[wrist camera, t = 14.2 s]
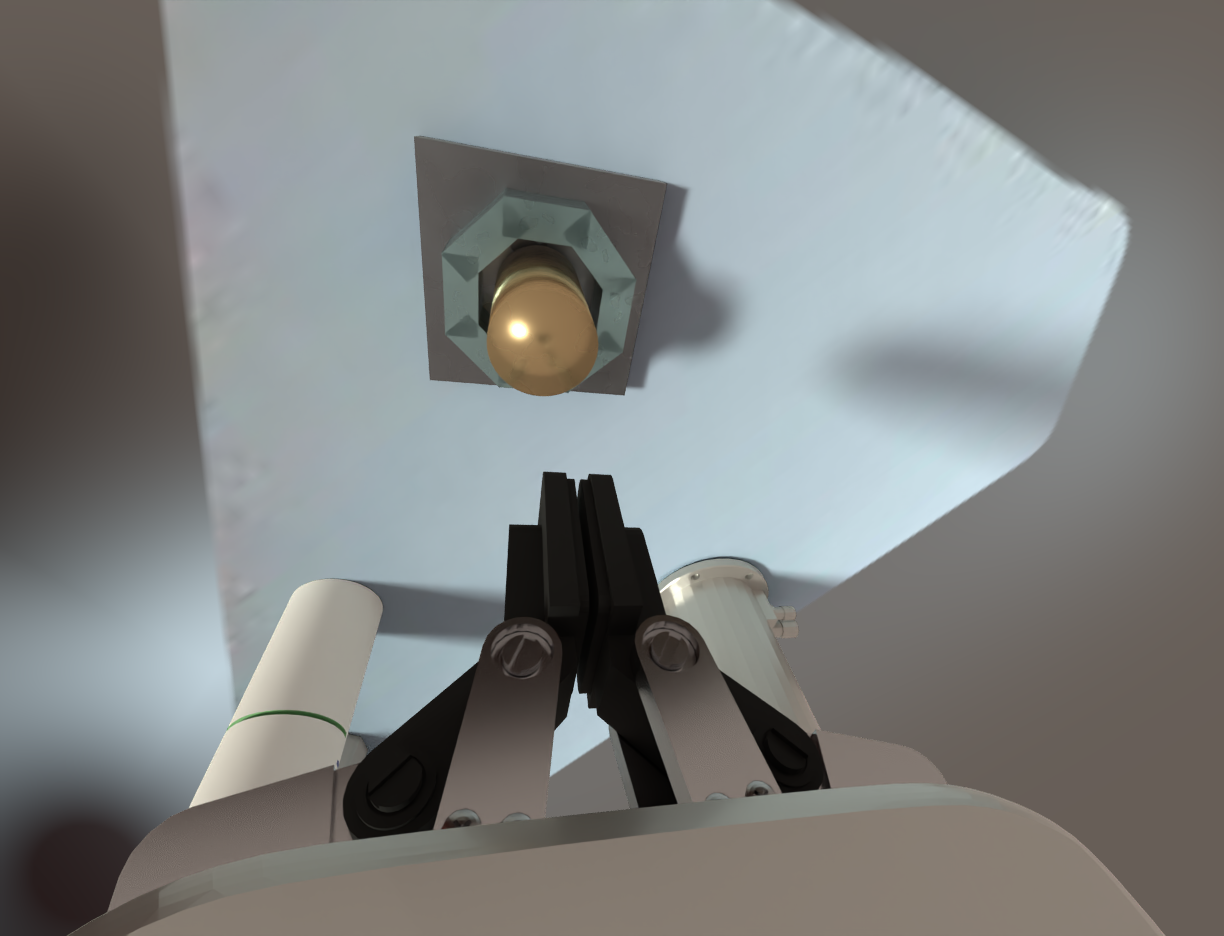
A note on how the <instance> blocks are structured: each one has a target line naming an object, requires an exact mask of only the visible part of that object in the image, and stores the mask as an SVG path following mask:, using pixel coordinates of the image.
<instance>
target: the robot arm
mask: <svg viewBox="0 0 1224 936" xmlns="http://www.w3.org/2000/svg"><path fill="white" fill-rule="evenodd" d="M768 591H769V590H768V586H767V583H766V581H765V579H764V577H763V575H762V573H761V572H760V571H759V570H758V569H757V568H756V567H754V566H753V565H751V564H749V563H747V562H744V561H741V560H735V559H711V560H705V561H701V562H697V563H693V564H691V565H688V566H686V567H683V568H681V569H679V570H678V571H676V572H674V573H672V574H671V575H669V576H668V577H667V578H665V579H664V580H663V581H661V582H660V583H659V584H657V580H656V577H655V573H654V570H653V566H652V563H651V559H650V556H649V552H648V549H647V545H646V542H645V538H644V535H643V532H642V530H641V529H640V528H628V527H624V523H623V519H622V515H621V511H620V507H619V503H618V499H617V494H616V490H615V486H614V482H613V478H612V476H611V475H600V474H589V476H588V479H587V480H583V479H581V480H580V483H579V489H578V496H577V495H576V487H575V480H574V479H567V476H566V473H559V472H543V478H542V488H541V498H540V509H539V519H538V525H510V524H509V541H508V560H507V578H506V597H505V615H504V622H502V623H501V624H499V625H497V626H496V627H495V628H494V629H493V630H492V631H491V632H490V633H489V634H488V635H487V638H486V640H485V642H484V644H483V647H482V650H481V654H480V658H479V661H478V662H477V663H476V664H475V665H474V666H472V667H471V668H470V669H469V670H468V671H467V672H465V673H464V674H463V675H462V676H461V677H459V678H458V679H457V680H456V681H455V682H453V683H452V684H451V685H450V686H449V687H447V688H446V689H445V690H444V691H443V692H441V693H440V694H439V695H438V696H437V697H436V698H434V699H433V700H432V701H431V702H430V703H428V704H427V705H426V706H425V707H424V708H422V709H421V710H420V711H419V712H418V713H416V714H415V715H414V716H413V717H412V718H410V719H409V720H408V721H407V722H406V723H404V724H403V725H402V726H401V727H400V728H399V729H397V730H396V731H395V732H394V733H393V734H391V735H390V736H389V737H388V738H387V739H385V740H384V741H383V742H382V743H381V744H379V745H378V746H377V747H376V748H375V749H373V750H372V751H371V752H370V753H369V754H368V755H367V756H366V757H365V758H364V759H363V760H362V761H361V762H360V763H357V764H353V765H350V766H347V767H343V768H340V769H337V770H336V769H335V766H334V765H332V766H328V767H325V768H322V769H318V770H315V771H312V772H308V773H305V774H301V775H298V776H295V777H291V778H288V779H285V780H281V781H278V782H274V783H271V784H268V785H264V786H261V787H258V788H254V789H251V790H248V791H244V792H241V793H237V794H234V795H231V796H227V797H224V798H221V799H217V800H214V801H210V802H207V803H204V804H200V805H197V806H194V807H191V808H189V809H187V810H184V811H182V812H180V813H178V814H176V815H173V816H171V817H170V818H168V819H167V820H166V821H164V822H163V823H162V824H161V825H159V826H158V827H156V828H155V829H154V830H152V831H151V832H150V833H149V834H148V835H147V836H146V837H145V838H144V839H143V841H142V842H141V843H140V844H139V845H138V846H137V847H136V849H135V850H134V851H133V852H132V853H131V855H130V857H129V858H128V860H127V862H126V864H125V866H124V868H123V870H122V872H121V874H120V876H119V879H118V882H117V885H116V888H115V891H114V894H113V897H112V900H111V903H110V906H109V909H108V912H107V913H106V914H104V915H102V916H100V917H98V918H96V919H94V920H92V921H91V922H89V923H87V924H86V925H84V926H82V927H81V928H79V929H78V930H76V931H74V932H73V933H71V934H69V935H68V936H1165V935H1164V934H1163V932H1162V931H1161V930H1160V929H1159V928H1158V926H1157V925H1156V924H1155V923H1154V921H1153V920H1152V919H1151V918H1150V917H1149V916H1148V914H1147V913H1146V912H1145V911H1144V910H1143V909H1142V907H1141V906H1140V905H1139V904H1138V903H1137V902H1136V900H1135V899H1134V898H1133V897H1132V896H1131V895H1130V894H1129V892H1128V891H1127V890H1126V889H1125V888H1124V887H1123V886H1122V884H1121V883H1120V882H1119V881H1118V880H1117V879H1116V878H1115V877H1114V875H1113V874H1112V873H1111V872H1110V871H1109V870H1108V869H1107V868H1106V867H1105V866H1104V865H1103V864H1102V863H1101V862H1100V861H1099V860H1098V859H1097V858H1096V857H1095V856H1094V855H1093V854H1092V853H1091V851H1090V850H1088V849H1087V848H1086V847H1085V846H1084V845H1083V844H1082V843H1081V842H1079V841H1078V840H1077V839H1076V838H1075V837H1074V836H1073V835H1071V834H1070V833H1068V832H1067V831H1066V830H1064V829H1063V828H1061V827H1060V826H1058V825H1057V824H1055V823H1054V822H1052V821H1051V820H1049V819H1047V818H1045V817H1043V816H1041V815H1039V814H1037V813H1036V812H1034V811H1032V810H1030V809H1027V808H1025V807H1023V806H1021V805H1019V804H1016V803H1014V802H1011V801H1008V800H1006V799H1003V798H1000V797H998V796H995V795H992V794H988V793H985V792H982V791H978V790H974V789H970V788H965V787H960V786H955V785H948V784H947V782H946V781H945V779H944V777H943V776H942V774H941V772H940V771H939V770H938V769H937V768H936V767H935V766H934V765H933V764H932V763H931V761H930V760H929V759H927V758H926V757H924V756H923V755H922V754H920V753H919V752H917V751H916V750H913V749H910V748H908V747H905V746H902V745H897V744H892V743H886V742H881V741H876V740H870V739H865V738H860V737H854V736H849V735H844V734H838V733H833V732H828V731H822V730H821V729H820V727H819V725H818V723H817V721H816V719H815V717H814V715H813V714H812V711H811V709H810V707H809V705H808V703H807V701H806V699H805V697H804V695H803V693H802V690H801V688H800V686H799V684H798V682H797V680H796V678H795V676H794V674H793V672H792V670H791V668H790V666H789V664H788V662H787V660H786V658H785V656H784V654H783V652H782V650H781V647H780V646H779V643H778V641H777V639H776V638H795V637H797V636H798V632H799V629H798V625H797V622H796V621H795V620H794V619H795V618H796V611H795V608H794V607H793V606H779V607H773V606H772V605H771V604H769V602H768V600H767V599H768ZM576 673H577V683H578V691H579V694H582V693H587V699H588V708H596V709H597V715H598V716H599V717H600V718H601V719H603V720H604V721H605V722H606V723H607V724H608V725H609V734H610V739H611V742H612V746H613V750H614V753H615V757H616V761H617V764H618V768H619V771H620V775H621V779H622V782H623V786H624V789H625V793H626V797H627V801H628V804H629V808H630V809H626V810H618V811H607V812H598V813H588V814H579V815H570V816H560V817H552V818H545V813H546V804H547V795H548V785H549V776H550V766H551V757H552V747H553V738H554V731H555V730H556V728H557V727H558V726H559V725H560V724H561V723H562V722H563V720H564V719H565V718H566V717H567V713H568V708H569V703H570V698H571V694H572V692H573V688H574V683H575V678H576Z"/></svg>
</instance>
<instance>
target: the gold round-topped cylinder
mask: <svg viewBox="0 0 1224 936" xmlns="http://www.w3.org/2000/svg"><path fill="white" fill-rule="evenodd" d="M487 351H488V356H489V358H490V361H491V364H492V365H493V367H494V369H495V371H496V372H497V373H498V375H499V376H500V377H501V378H502V379H503V380H504V381H505V382H506V383H507V384H509V385H510V386H512V387H513V388H515V389H517V390H519V391H521V392H524V393H526V394H530V395H536V396H552V395H557V394H561V393H564V392H567V391H569V390H571V389H573V388H574V387H576V386H577V385H579V384H580V383H581V382H582V381H583V380H584V379H585V378H586V377H587V376H588V374H589V373H590V371H591V370H592V368H593V366H594V364H595V361H596V358H597V353H598V336H597V331H596V328H595V325H594V322H593V319H592V316H591V314H590V311H589V308H588V305H587V302H586V299H585V296H584V294H583V291H582V288H581V285H580V282H579V279H578V276H577V273H576V271H575V269H574V267H573V266H572V264H571V263H570V262H569V261H568V260H567V258H565V257H564V256H563V255H562V254H561V253H559V252H558V251H556V250H554V249H552V248H549V247H545V246H538V245H533V246H526V247H523V248H520V249H518V250H516V251H514V252H513V253H511V254H510V255H509V256H508V257H507V258H506V259H505V260H504V262H503V263H502V264H501V266H500V268H499V271H498V273H497V277H496V283H495V289H494V295H493V301H492V307H491V313H490V319H489V326H488V332H487Z"/></svg>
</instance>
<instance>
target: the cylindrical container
mask: <svg viewBox="0 0 1224 936" xmlns="http://www.w3.org/2000/svg"><path fill="white" fill-rule="evenodd" d="M382 612H383V605H382V602H381V600H380V598H379V597H378V596H377V595H376V594H375V593H374V592H373V591H372V590H370V589H369V588H367V587H365V586H363V585H361V584H358V583H355V582H352V581H348V580H342V579H321V580H315V581H312V582H309V583H306V584H304V585H302V586H300V587H299V588H298V589H297V590H296V591H295V592H294V593H293V595H292V596H291V598H290V601H289V603H288V605H287V607H286V609H285V611H284V613H283V615H282V617H281V619H280V621H279V623H278V625H277V627H276V629H275V632H274V634H273V636H272V638H271V640H270V642H269V644H268V646H267V648H266V650H265V652H264V654H263V656H262V658H261V660H260V663H259V665H258V667H257V669H256V671H255V673H254V675H253V677H252V679H251V681H250V683H249V685H248V687H247V689H246V691H245V694H244V696H243V698H242V700H241V702H240V704H239V706H238V708H237V710H236V712H235V714H234V716H233V718H232V720H231V722H230V725H229V727H228V729H227V731H226V733H225V735H224V737H223V739H222V741H221V743H220V745H219V747H218V749H217V751H216V753H215V755H214V757H213V759H212V762H211V763H210V765H209V767H208V770H207V772H206V774H205V776H204V778H203V780H202V782H201V784H200V786H199V788H198V790H197V792H196V794H195V797H194V798H193V801H192V803H191V805H190V807H189V808H191V807H194V806H197V805H200V804H204V803H207V802H210V801H214V800H217V799H221V798H224V797H227V796H231V795H234V794H237V793H241V792H244V791H248V790H251V789H254V788H258V787H261V786H264V785H268V784H271V783H274V782H278V781H281V780H285V779H288V778H291V777H295V776H298V775H301V774H305V773H308V772H312V771H315V770H318V769H322V768H325V767H328V766H332V765H334V766H335V769H336V770H337V769H338V766H339V763H340V760H341V756H342V752H343V749H344V745H345V742H346V738H347V735H348V731H349V728H350V724H351V721H352V717H353V714H354V710H355V707H356V703H357V700H358V696H359V693H360V689H361V686H362V682H363V679H364V675H365V672H366V668H367V665H368V661H369V658H370V654H371V651H372V647H373V643H374V640H375V636H376V633H377V629H378V626H379V622H380V619H381V615H382Z"/></svg>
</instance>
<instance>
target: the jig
mask: <svg viewBox="0 0 1224 936" xmlns="http://www.w3.org/2000/svg"><path fill="white" fill-rule="evenodd" d="M414 143H415V158H416V173H417V189H418V204H419V219H420V235H421V250H422V265H423V281H424V296H425V311H426V327H427V342H428V357H429V373H430V380H438V381H450V382H463V383H476V384H488V385H497V386H498V387H499V388H500V387H504V388H513V387H512V386H510V385H509V384H507V383H506V382H505V381H504V380H503V379H502V378H501V377H500V376H499V375H498V373H497V372H496V371H495V369H494V367H493V365H492V364H491V361H490V358H489V356H488V351H487V332H488V326H489V319H490V313H491V307H492V301H493V295H494V289H495V283H496V277H497V273H498V271H499V268H500V266H501V264H502V263H503V262H504V260H505V259H506V258H507V257H508V256H509V255H510V254H511V253H513V252H514V251H516V250H518V249H520V248H523V247H526V246H533V245H538V246H545V247H549V248H552V249H554V250H556V251H558V252H559V253H561V254H562V255H563V256H564V257H565V258H567V260H568V261H569V262H570V263H571V264H572V266H573V267H574V269H575V271H576V273H577V276H578V279H579V282H580V285H581V288H582V291H583V294H584V296H585V299H586V302H587V305H588V308H589V311H590V314H591V316H592V319H593V322H594V325H595V328H596V331H597V336H598V353H597V358H596V361H595V364H594V366H593V368H592V370H591V371H590V373H589V374H588V376H587V377H586V378H585V379H584V380H583V381H582V382H581V383H580V384H579V385H577V386H576V387H574V388H573V389H571V390H569V391H567V393H569V392H570V391H576V392H589V393H601V394H614V395H625V390H626V385H627V380H628V375H629V370H630V365H631V360H632V355H633V350H634V346H635V341H636V336H637V331H638V326H639V321H640V316H641V311H642V306H643V301H644V296H645V291H646V286H647V281H648V276H649V271H650V266H651V261H652V256H653V251H654V246H655V241H656V236H657V231H658V226H659V221H660V216H661V211H662V206H663V201H664V196H665V191H666V186H667V184H666V183H664V182H662V181H659V180H653V179H648V178H643V177H637V176H632V175H627V174H621V173H616V172H611V171H605V170H600V169H595V168H589V167H584V166H579V165H573V164H568V163H563V162H557V161H552V160H547V159H541V158H536V157H531V156H525V155H520V154H515V153H510V152H504V151H499V150H494V149H488V148H483V147H478V146H472V145H467V144H462V143H456V142H451V141H446V140H440V139H435V138H430V137H424V136H415V137H414Z"/></svg>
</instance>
